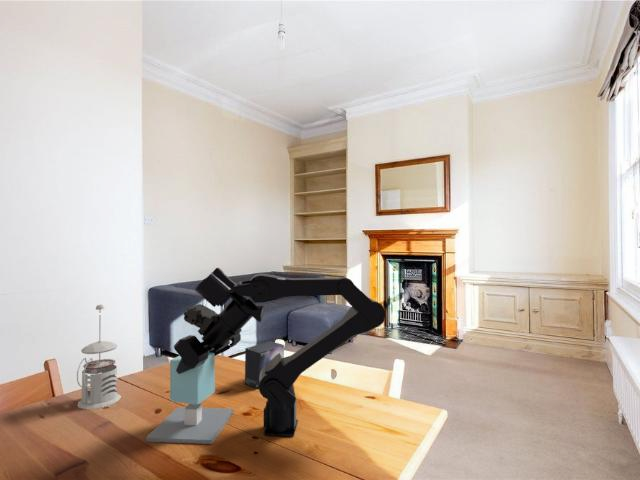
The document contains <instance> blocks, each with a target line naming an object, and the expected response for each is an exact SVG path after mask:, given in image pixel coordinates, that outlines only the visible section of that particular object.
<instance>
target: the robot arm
mask: <svg viewBox="0 0 640 480" xmlns="http://www.w3.org/2000/svg"><path fill="white" fill-rule="evenodd" d="M194 291H195V292H196V293H197V294H198V295H199V296H201V298H203V299H204V300H205V301H206V302H208V303H209V304H210V305H211V306H212V307H213V308H215V307H216V306H217V307H223V306H224V305H225V304H226V302H228V301H229V300H230V298H231V301H229V303H228V304H227V305H226V306H225V307H224V308H223V309H222V310H221V312H220V313H217V312H216V310H213V309H211V308H209V307H208V306H206V305H204V304H199V303H198V304H194V305H192V306H190V307H189V308H187V310H186V311H184V312H183V316H184V317H183V320H184V321H185V322H186V323H188V324H190V325H192V326H194V327H196V328H198V330H197V333H198V334H199V335H201V336H202V337H201V340H202V341H200V340H199V338H198V337H197V336H196V335H191V334H190V335H188V336H185V337H182V338H180V339H178V340H177V341H176V342H175V344H174V345H173V349H174V351H175V352H176V353H177V354H178V356H181V360H180V362H179V364H178V367H177V369H176V372H177V373H178V374H181V373H183V372H186V371H188V370H190V369H194V368H196V367H198V366H200V365H202V364H203V363H205V361H206V360H207V359H208V352H209V353H215V357H216V356H218V355H219V354H222V353H225V352H226V351H228V350H230V349H231V348H233V347H234V346H237V344H238V343H239V342H240V341H241V339H242V338H241V337H242V336H241V335H242V334H241V332H242V330H243V327H244V326H245V325H246V324H248V322H249V321H250V320H251V319H252V318H253V319H255V320H256V322H258V323H260V322H262V320H263V318H264V317H265V312H264V307H265V306H264V305H259V304H256V303H267V302H272V301H276V300H279V299H284V298H287V297H298V296H299V297H306V296H308V297H309V296H316V297H317V296H341V297H343V299H344V300H345V302H347V303H348V305H350V308H349V309H348V310H347V312H346V313H345V314H344V316H343V317H342V318H341V319H340V320H339V321H337V322H336V323H335V324H334V325H332V326H331V327H329V328H328V329H327V330H325V331H324V332H322V333H321V334H319V335H318V336H317V337H316V338H314V339H312V340H310V341H309V342H308V343H307V344H306V345H304V346H303V347H301V348H300V349H298V350H297V351H295V352H294V353H293V354H291V355H288V356H284V358H282V357H281V354H280V353H279V354H277V355H276V356H275V357H274V358H273V359H272V360H270V361H268V362H265V366H264V367H263V368H262V370H261V372H260V376H259V390H258V392H259V393H260V395H261V396H262V397H263V398H264V399H266V400H267V401H266V402H265V406H264V408H263V429H264V432H263V435H264V436H275V437H276V436H278V437H294V436H295V434H296V430H297V426H298V422H299V420H298V419H297V397H296V392H295V386H294V384H295V383H296V381H297V380H298V378H299V377H300V375H302V373H304V372H305V371H306V370H308V369H309V368H311V367H312V366H313V365H315V364H316V363H318V362H319V361H320V360H322V359H323V358H325V357H326V356H327V355H329V354H330V353H331V352H333V351H335V350H336V349H337V348H338V347H340V346H341V345H342V344H344V343H346V342H347V341H348V340H349V339H351V338H353V337H355V336H358V335H362V334H365V333H368V332H371V331H372V330H374V329H376V328H378V327H380V326H381V325H382V324H383V323H384V322H385V321H386V319H385V318H386V310H385V308H384V306H383V304H381V303H379V302H377V301H376V300H374V299H372V298H369V297H368V296H367V295H366V294H365V293H364V292H363V291H362V290H361V289H359V287H358V286H357V285H355V284H354V282H353V281H352V279H350V278H348V277H345V276H339V277H301V278H299V277H296V278H295V277H292V278H289V277H284V276H281V275H275V274H268V273H257V274H255V275H253V276H252V277H251V278H250V279H248V280H244V281H241V280H240V281H239V282H236V283H235V281H233V280H232V279H231V278H230V277H229V276H227V275H226V274H225V271H223V270H222V269H221V268H219V267H216V268H215V269H214V270H213V271H212V272H211V273H210V274H209V275H208V276H207V277H206V278H204V279H202V280H201V281H200V283H199V284H198V285H197V286H196V287H195V289H194ZM246 297H247V298H246ZM249 297H250V298H249ZM255 302H256V303H255Z"/></svg>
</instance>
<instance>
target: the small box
mask: <svg viewBox="0 0 640 480" xmlns="http://www.w3.org/2000/svg"><path fill="white" fill-rule="evenodd" d="M244 351H245V355H244V359H245V361H244V385H247V386H250V387H252V388H256V389H259V376H260V372H261V370H262V368H263V367H264V366H265V362H268V361H270V360H272V359H273V358H274V357H275V356H276V355H277V354H279V353H280V354H281V357H282V358H284V357H285V345H284V344H282V343H278V342H275V341H271V340H269V341H266V342H263V343H260V344H256V345H253V346H249V347H245V349H244Z"/></svg>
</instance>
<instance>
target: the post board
mask: <svg viewBox="0 0 640 480" xmlns="http://www.w3.org/2000/svg"><path fill="white" fill-rule="evenodd" d="M234 410H235V409H234V408H222V407H219V408H218V407H215V408H214V407H203V404H202V403H199V404H198V405H197V404H188V405H186V406H185V407H184V406H177V407H176V408H175V409H174V410H173V411H172V412H171V413H170V414H169V415H168V416H167V417H166V418H165V419H164V420H162V422H160V424H159V425H158V426H156V427H155V428H154V429H153V430H152V432H150V433H149V434H148V435H147V436H146V437H145V442H153V443H178V444H181V443H182V444H198V445H199V444H201V445H203V444H204V445H213V443H214V442H215V441H216V439H217V437H218V436H219V435H220V433H221V432H222V430H223V429H224V427H225V426H226V425H227V423H228V421H229V420H230V419H231V417H232V415H234Z"/></svg>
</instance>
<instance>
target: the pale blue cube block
mask: <svg viewBox="0 0 640 480" xmlns="http://www.w3.org/2000/svg"><path fill="white" fill-rule="evenodd" d="M215 357H216V356H215V353H209V352H208V359H207V360H206V361H205V363H203V364H202V365H200V366H198V367H196V368H194V369H190V370H188V371H186V372H183V373H181V374H178V373H177V372H176V369H177V367H178V364H179V362H180V360H181V356H180V355H178V356H176V357H173V358H171V359H169V367H170V369H169V370H170V371H169V372H170V373H169V374H170V375H169V376H170V377H169V380H170V381H169V382H170V383H169V384H170V386H169V387H170V389H169V393H170V394H169V395H170V397H169V399H170V402H173V403H181V404H188V405H189V404H197V405H198V404H202V402H203V401H204V400H206V399H207V398H209V397H210V396H211V395H213V394H214V393H215V392H216V377H215V376H216V375H215V374H216V372H215V371H216V369H215V368H216V366H215V365H216V364H215V363H216V362H215V361H216V360H215V359H216V358H215Z"/></svg>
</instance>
